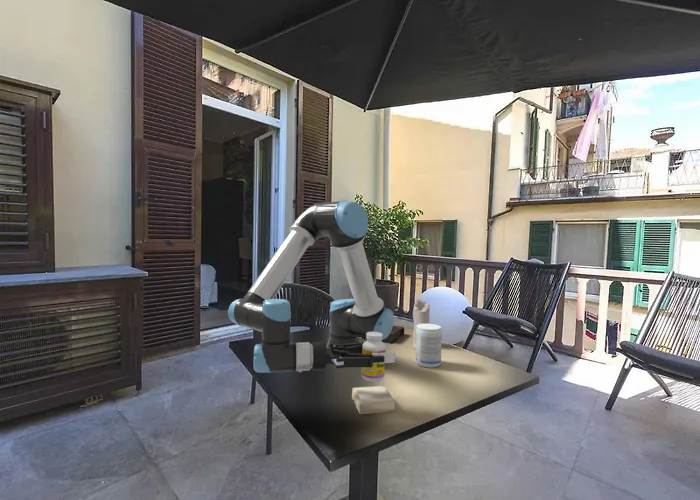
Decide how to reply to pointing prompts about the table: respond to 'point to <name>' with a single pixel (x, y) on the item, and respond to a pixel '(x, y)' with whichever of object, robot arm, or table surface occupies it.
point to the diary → (392, 335)
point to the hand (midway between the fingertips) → (390, 353)
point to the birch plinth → (373, 399)
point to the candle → (420, 316)
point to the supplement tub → (428, 345)
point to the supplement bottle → (369, 347)
